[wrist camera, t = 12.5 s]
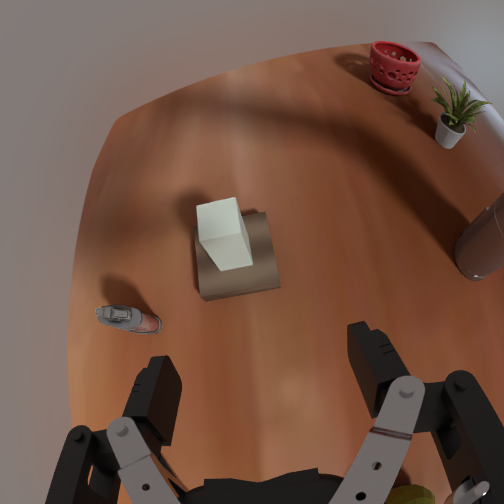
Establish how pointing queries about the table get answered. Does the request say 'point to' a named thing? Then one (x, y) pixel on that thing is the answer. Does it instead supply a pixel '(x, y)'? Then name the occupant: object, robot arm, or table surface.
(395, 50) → the plant pot
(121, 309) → the lighter
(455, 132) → the house plant
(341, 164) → the table surface
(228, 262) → the sage pillar
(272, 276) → the walnut base
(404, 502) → the apple
